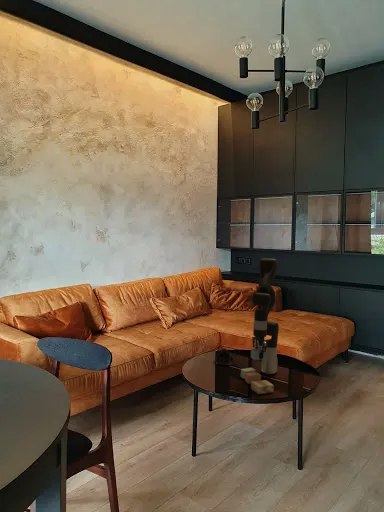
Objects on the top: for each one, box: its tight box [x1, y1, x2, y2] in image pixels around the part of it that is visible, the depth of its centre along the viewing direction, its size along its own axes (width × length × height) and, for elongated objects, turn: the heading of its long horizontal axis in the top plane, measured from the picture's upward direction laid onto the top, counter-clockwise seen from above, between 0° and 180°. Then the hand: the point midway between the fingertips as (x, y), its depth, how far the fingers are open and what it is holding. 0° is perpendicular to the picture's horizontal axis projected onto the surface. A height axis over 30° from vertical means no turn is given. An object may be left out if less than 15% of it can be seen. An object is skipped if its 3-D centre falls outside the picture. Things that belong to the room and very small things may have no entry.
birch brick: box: [250, 379, 275, 395], centre depth 224 cm, size 10×8×4 cm
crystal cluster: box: [214, 348, 235, 366], centre depth 270 cm, size 13×14×10 cm
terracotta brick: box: [244, 371, 262, 385], centre depth 236 cm, size 8×4×5 cm, turn 104°
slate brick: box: [250, 348, 267, 361], centre depth 223 cm, size 8×4×5 cm, turn 107°
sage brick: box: [240, 367, 257, 380], centre depth 244 cm, size 8×4×5 cm, turn 115°
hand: (258, 357), depth 224 cm, fingers closed on slate brick, 4 cm apart
